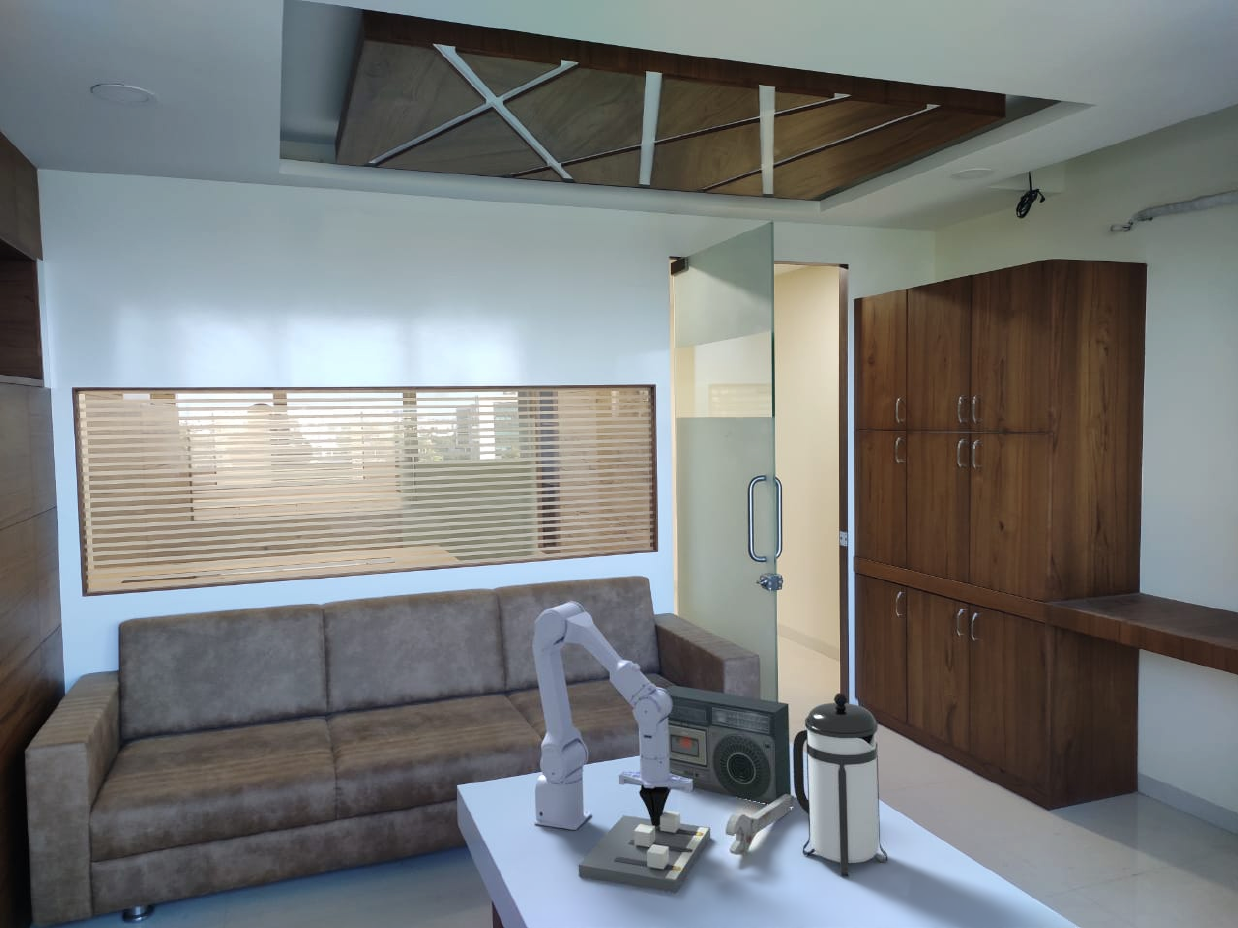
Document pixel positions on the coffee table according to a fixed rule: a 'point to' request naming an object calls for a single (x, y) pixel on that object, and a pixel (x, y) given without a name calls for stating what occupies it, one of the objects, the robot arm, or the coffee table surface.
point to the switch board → (644, 855)
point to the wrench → (755, 823)
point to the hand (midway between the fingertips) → (656, 823)
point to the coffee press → (840, 782)
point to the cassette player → (730, 743)
